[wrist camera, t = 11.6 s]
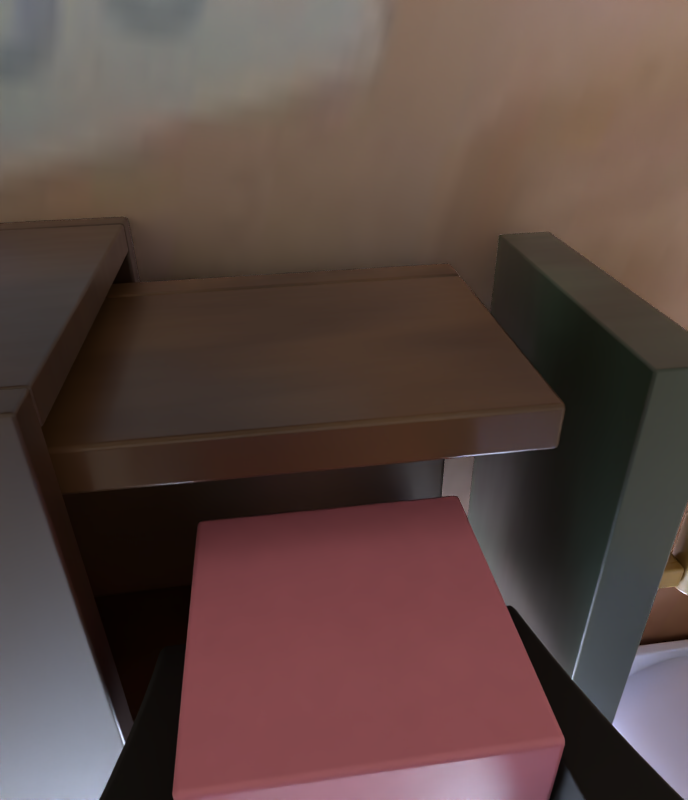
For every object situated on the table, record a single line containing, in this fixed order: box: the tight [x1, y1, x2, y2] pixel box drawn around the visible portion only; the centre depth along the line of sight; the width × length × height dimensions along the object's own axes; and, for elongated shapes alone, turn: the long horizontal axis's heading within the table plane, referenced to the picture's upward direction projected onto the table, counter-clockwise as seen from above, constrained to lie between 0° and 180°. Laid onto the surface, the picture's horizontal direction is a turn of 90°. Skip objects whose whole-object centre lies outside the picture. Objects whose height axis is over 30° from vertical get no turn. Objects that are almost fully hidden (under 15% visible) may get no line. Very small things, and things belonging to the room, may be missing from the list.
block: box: [172, 496, 565, 800], centre depth 10 cm, size 4×4×4 cm
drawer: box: [41, 232, 688, 724], centre depth 14 cm, size 16×10×6 cm, turn 91°
